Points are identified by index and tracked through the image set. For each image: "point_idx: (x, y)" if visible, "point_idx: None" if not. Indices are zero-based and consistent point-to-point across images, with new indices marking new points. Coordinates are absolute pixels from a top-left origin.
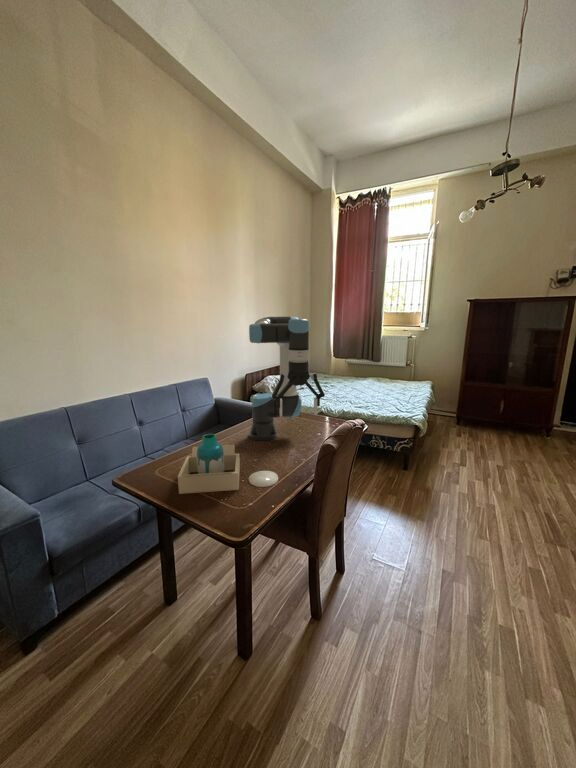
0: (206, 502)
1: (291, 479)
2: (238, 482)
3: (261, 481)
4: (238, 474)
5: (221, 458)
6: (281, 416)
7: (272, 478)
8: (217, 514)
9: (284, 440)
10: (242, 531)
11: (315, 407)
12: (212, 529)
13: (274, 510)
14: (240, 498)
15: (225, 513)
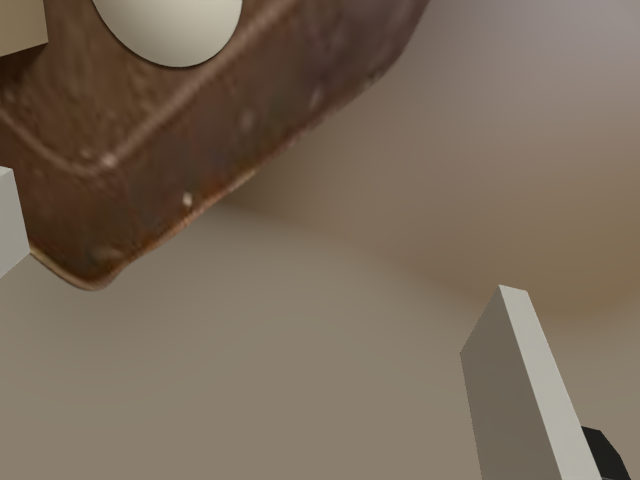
0: None
1: (307, 41)
2: (26, 33)
3: (150, 18)
4: (1, 3)
5: None
6: (16, 251)
7: (208, 8)
8: None
9: None
10: (93, 267)
11: (479, 457)
12: None
13: (189, 222)
14: (66, 112)
15: (28, 179)
